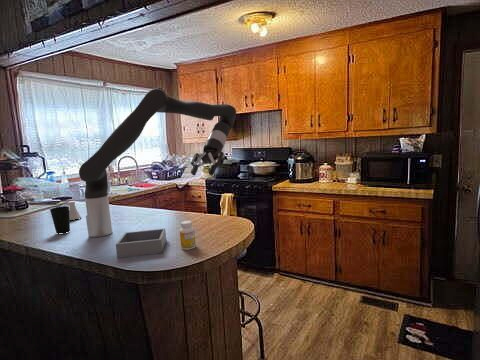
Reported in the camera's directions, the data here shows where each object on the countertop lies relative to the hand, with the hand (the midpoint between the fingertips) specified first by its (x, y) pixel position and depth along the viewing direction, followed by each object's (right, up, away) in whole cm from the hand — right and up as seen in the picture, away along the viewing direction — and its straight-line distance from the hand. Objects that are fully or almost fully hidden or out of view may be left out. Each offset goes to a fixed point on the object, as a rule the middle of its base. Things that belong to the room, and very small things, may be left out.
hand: (201, 174), depth 118 cm
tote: (-21, -28, -5) cm, 36 cm away
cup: (-69, -27, +24) cm, 78 cm away
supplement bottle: (-4, -28, -6) cm, 29 cm away
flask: (-77, -25, +49) cm, 95 cm away
